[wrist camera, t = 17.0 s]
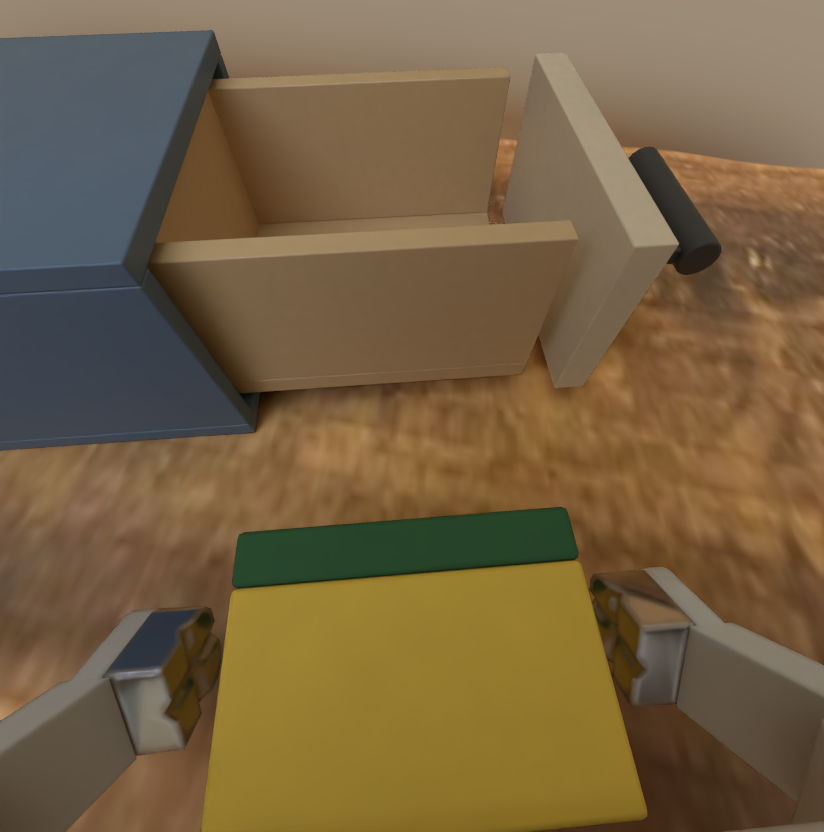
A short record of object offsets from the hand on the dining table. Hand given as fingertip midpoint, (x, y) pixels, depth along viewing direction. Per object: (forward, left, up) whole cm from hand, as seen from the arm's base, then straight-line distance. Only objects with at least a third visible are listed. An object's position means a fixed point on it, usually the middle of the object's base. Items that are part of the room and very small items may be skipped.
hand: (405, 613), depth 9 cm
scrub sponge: (0, -1, -5) cm, 5 cm away
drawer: (-1, +14, -4) cm, 14 cm away
